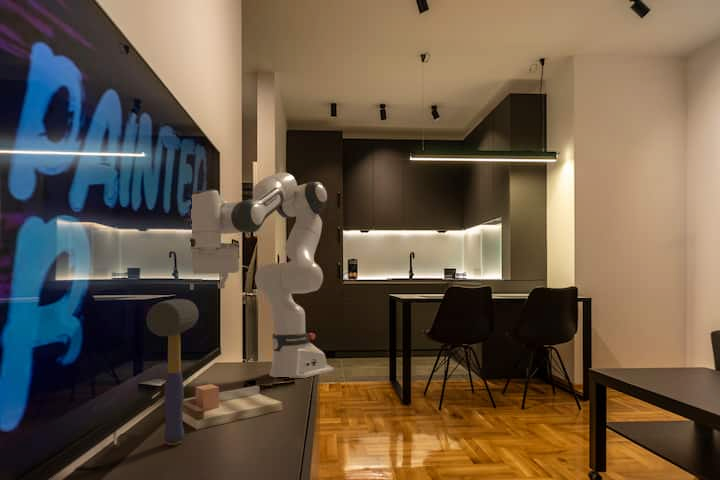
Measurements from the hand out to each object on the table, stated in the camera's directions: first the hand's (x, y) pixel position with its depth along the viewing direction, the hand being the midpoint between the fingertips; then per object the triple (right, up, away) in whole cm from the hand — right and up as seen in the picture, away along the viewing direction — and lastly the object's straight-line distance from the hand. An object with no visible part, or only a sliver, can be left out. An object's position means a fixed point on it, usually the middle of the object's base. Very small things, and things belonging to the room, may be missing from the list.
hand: (206, 289), depth 144 cm
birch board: (+13, -29, -22) cm, 39 cm away
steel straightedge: (+9, -28, -17) cm, 34 cm away
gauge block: (+8, -27, -23) cm, 36 cm away
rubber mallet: (+7, -28, -43) cm, 52 cm away
